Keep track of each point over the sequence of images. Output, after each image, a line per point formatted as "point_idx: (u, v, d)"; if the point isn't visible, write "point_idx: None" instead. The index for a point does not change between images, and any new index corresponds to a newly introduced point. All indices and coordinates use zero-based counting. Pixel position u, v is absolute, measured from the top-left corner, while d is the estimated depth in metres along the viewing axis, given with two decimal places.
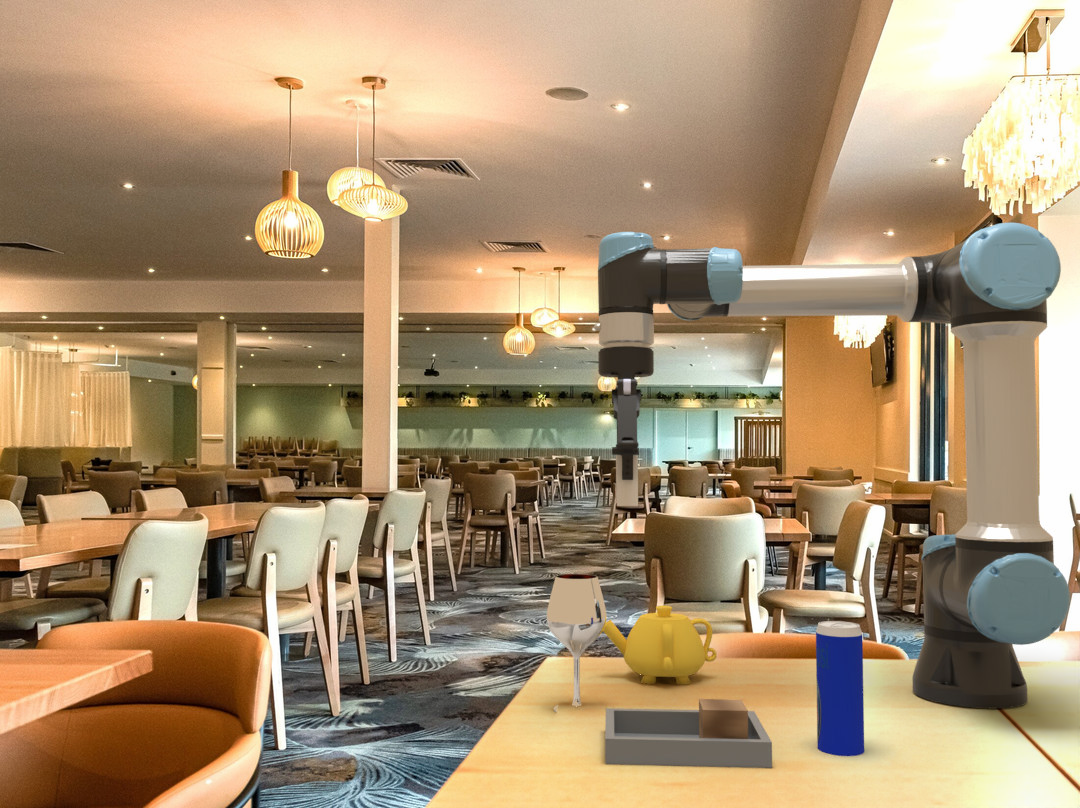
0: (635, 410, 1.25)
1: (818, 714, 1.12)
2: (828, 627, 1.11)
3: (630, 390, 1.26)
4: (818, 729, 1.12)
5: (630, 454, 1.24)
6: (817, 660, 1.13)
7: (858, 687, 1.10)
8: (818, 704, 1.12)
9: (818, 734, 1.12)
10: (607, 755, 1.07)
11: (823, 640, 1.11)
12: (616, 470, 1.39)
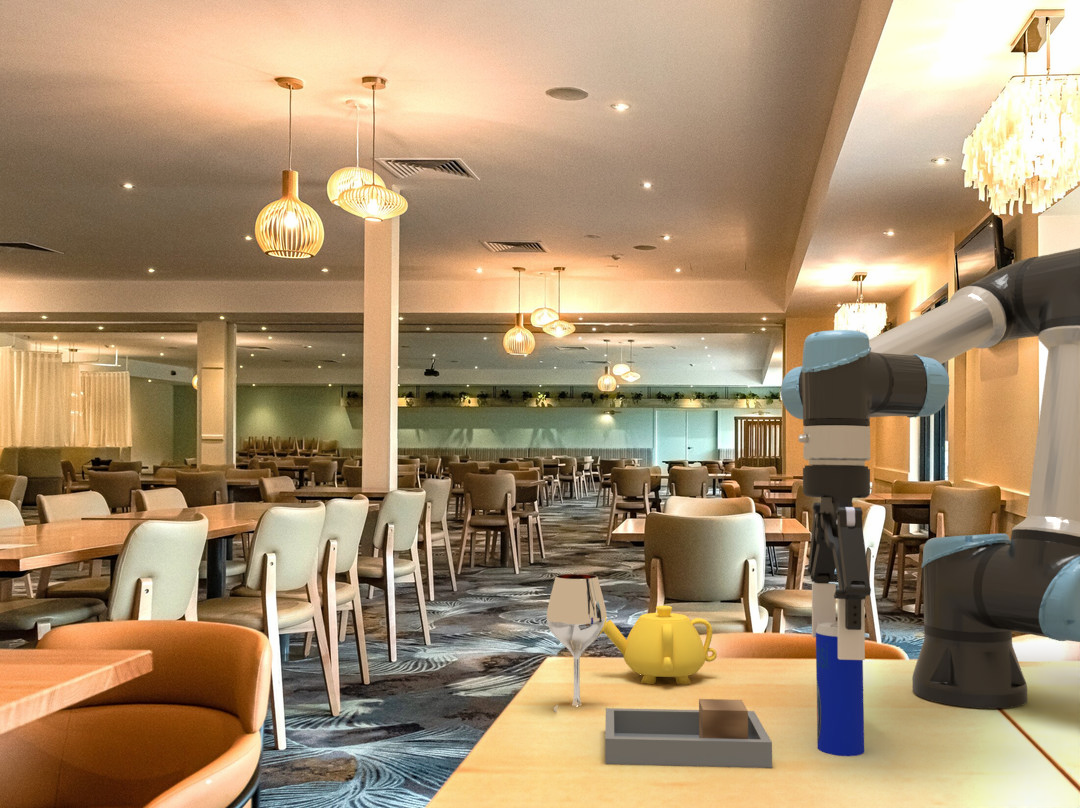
0: (863, 546, 1.05)
1: (818, 714, 1.12)
2: (828, 627, 1.11)
3: (855, 521, 1.07)
4: (818, 729, 1.12)
5: (858, 599, 1.04)
6: (817, 660, 1.13)
7: (858, 687, 1.10)
8: (818, 704, 1.12)
9: (818, 734, 1.12)
10: (607, 755, 1.07)
11: (823, 640, 1.11)
12: (813, 601, 1.19)
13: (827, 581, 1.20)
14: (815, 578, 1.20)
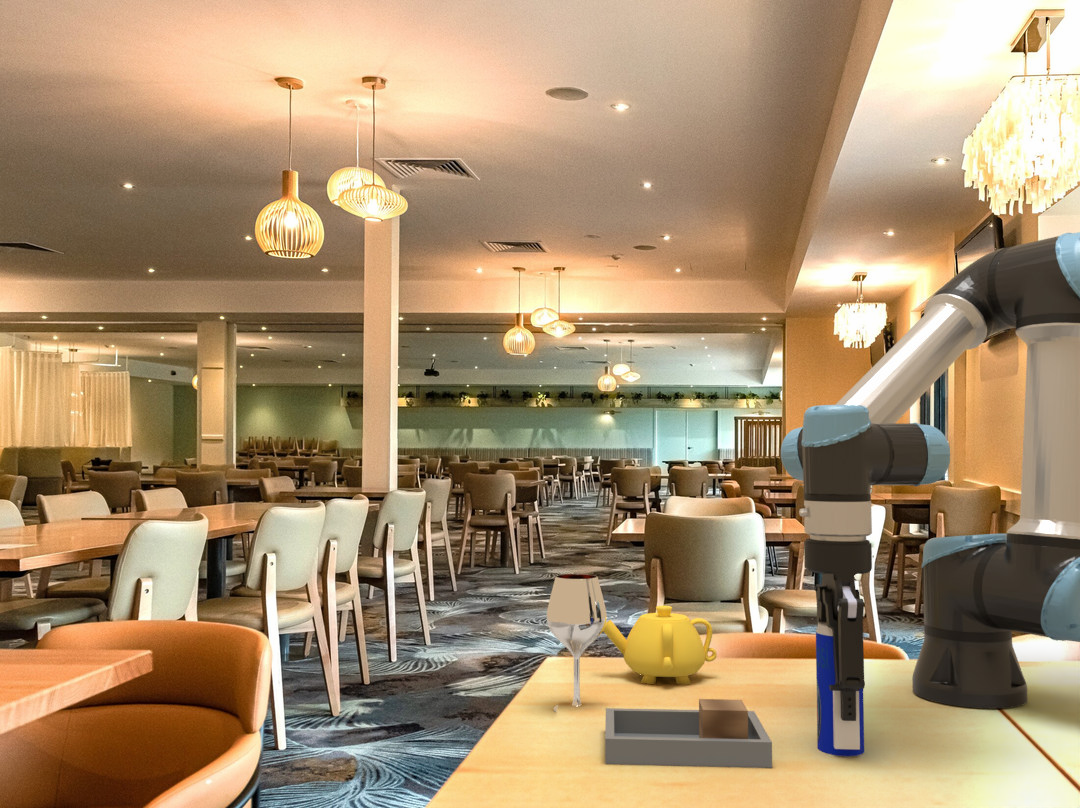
0: (861, 641, 1.07)
1: (818, 714, 1.12)
2: (828, 627, 1.11)
3: (856, 615, 1.07)
4: (818, 729, 1.12)
5: (853, 692, 1.08)
6: (817, 660, 1.13)
7: None
8: (818, 704, 1.12)
9: (818, 734, 1.12)
10: (607, 755, 1.07)
11: (823, 640, 1.11)
12: None
13: None
14: None
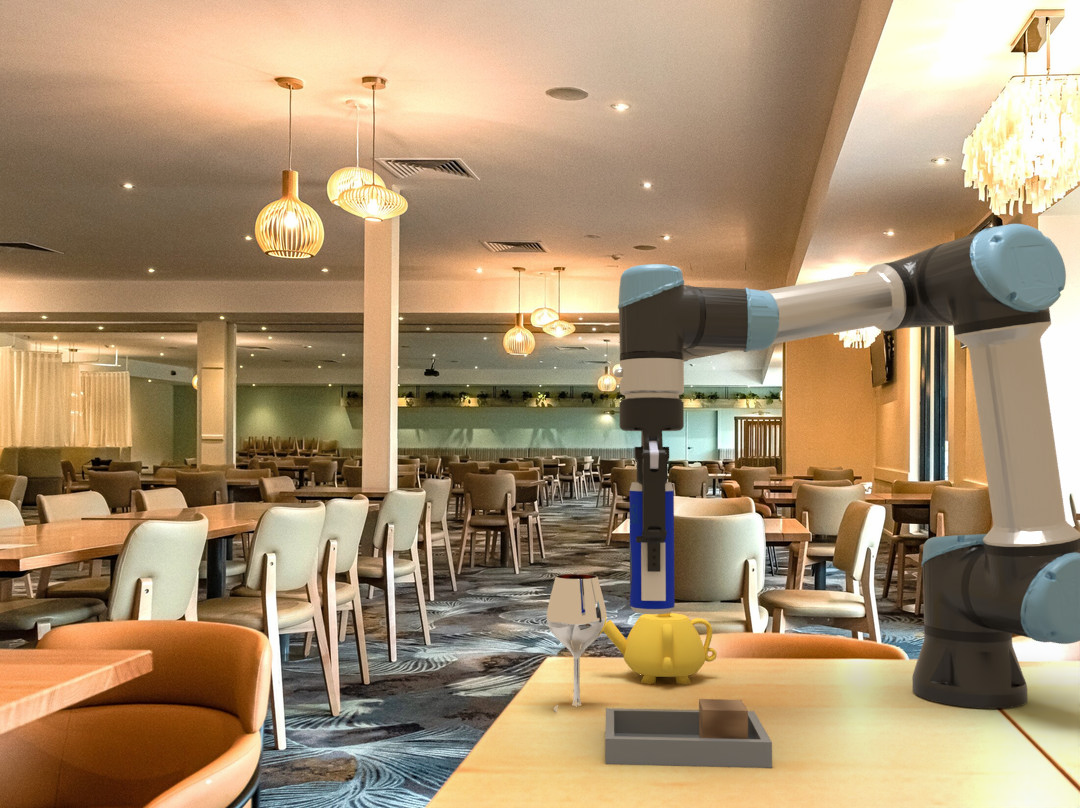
0: (663, 491, 1.08)
1: (630, 570, 1.14)
2: (638, 483, 1.13)
3: (658, 465, 1.08)
4: (630, 585, 1.14)
5: (657, 543, 1.09)
6: None
7: (667, 541, 1.12)
8: (630, 560, 1.14)
9: (630, 590, 1.14)
10: (607, 755, 1.07)
11: (634, 496, 1.13)
12: None
13: None
14: None
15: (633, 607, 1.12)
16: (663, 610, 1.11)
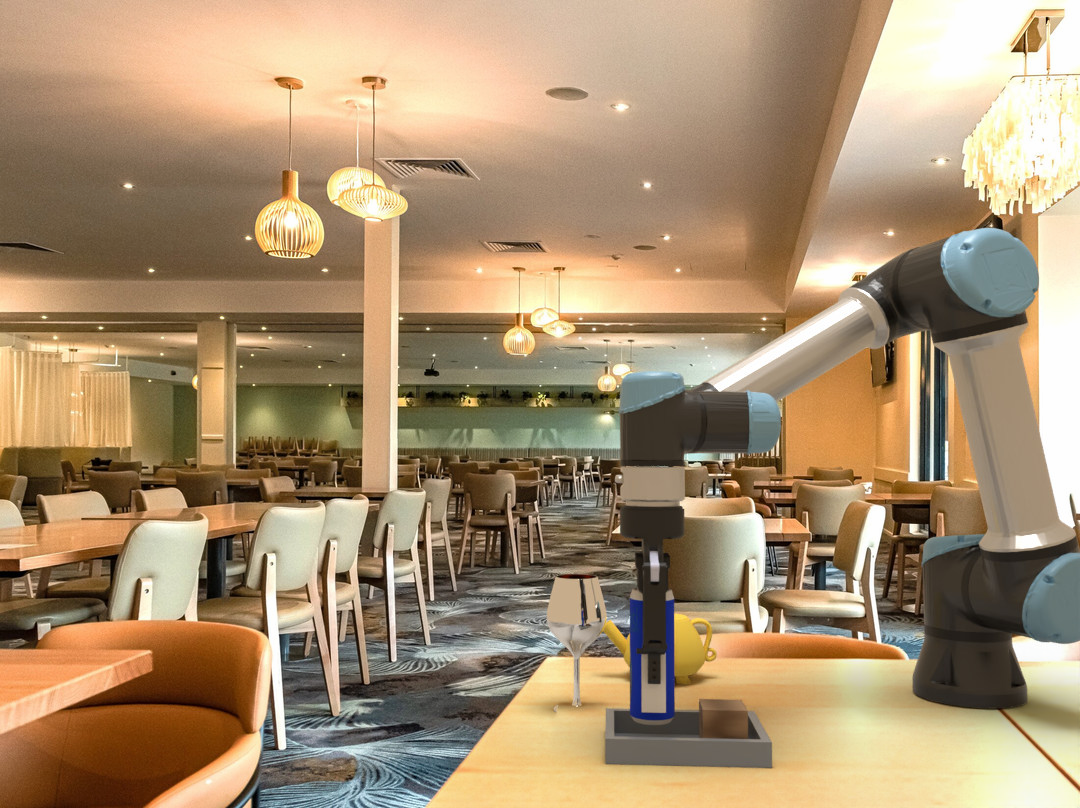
0: (664, 604, 1.07)
1: (630, 678, 1.13)
2: (639, 592, 1.12)
3: (658, 578, 1.07)
4: (630, 693, 1.13)
5: (657, 655, 1.09)
6: (630, 625, 1.13)
7: (667, 651, 1.11)
8: (630, 668, 1.13)
9: (630, 698, 1.13)
10: (607, 755, 1.07)
11: (634, 604, 1.12)
12: None
13: None
14: None
15: (633, 717, 1.12)
16: (663, 721, 1.11)
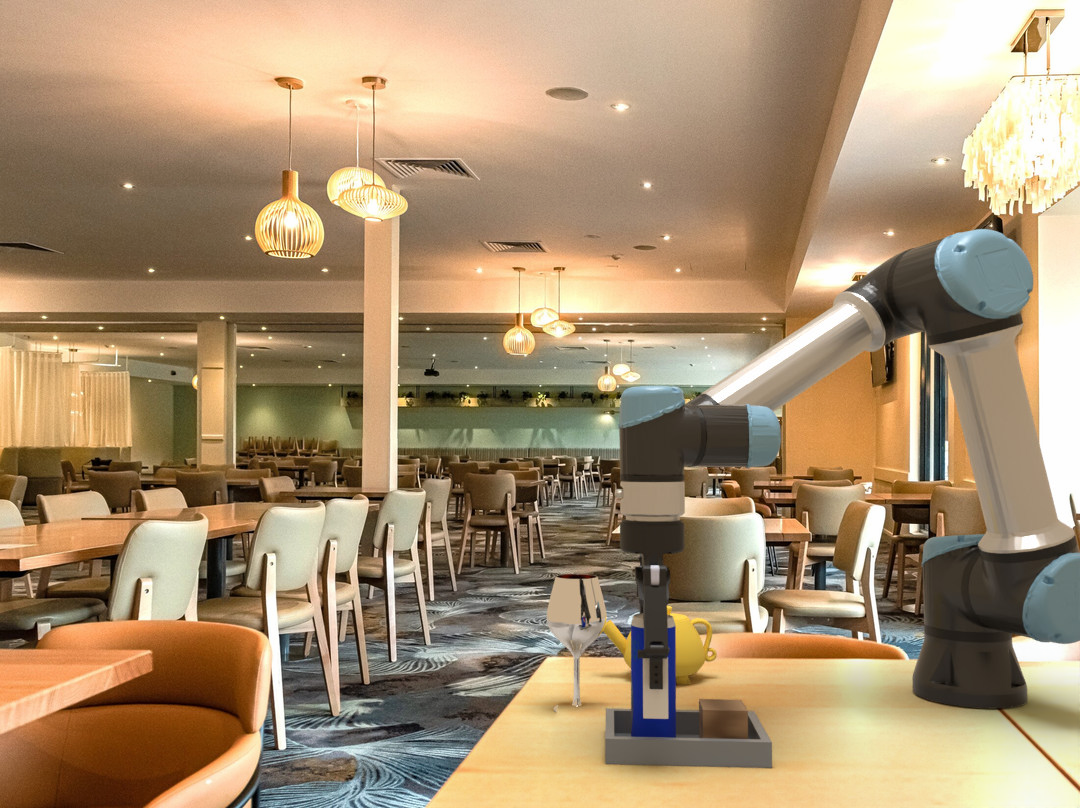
0: (665, 606, 1.06)
1: (631, 705, 1.13)
2: (640, 619, 1.12)
3: (659, 580, 1.07)
4: (631, 720, 1.13)
5: (659, 659, 1.05)
6: (631, 652, 1.13)
7: (668, 678, 1.11)
8: (631, 695, 1.13)
9: (631, 725, 1.13)
10: (607, 755, 1.07)
11: (635, 631, 1.12)
12: None
13: None
14: None
15: None
16: None
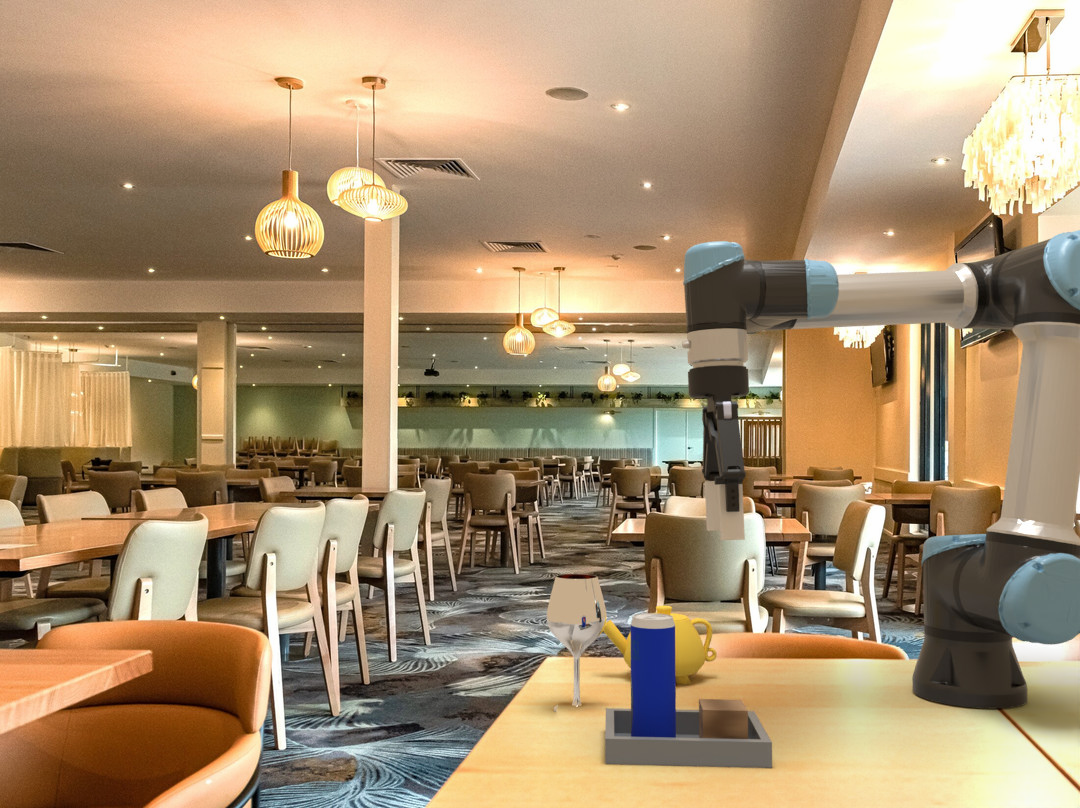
0: (738, 436, 1.15)
1: (631, 706, 1.13)
2: (639, 619, 1.12)
3: (731, 414, 1.16)
4: (631, 720, 1.13)
5: (735, 484, 1.14)
6: (631, 652, 1.13)
7: (668, 678, 1.11)
8: (631, 696, 1.13)
9: (631, 725, 1.13)
10: (607, 755, 1.07)
11: (635, 632, 1.12)
12: (706, 497, 1.29)
13: None
14: (707, 476, 1.30)
15: None
16: None
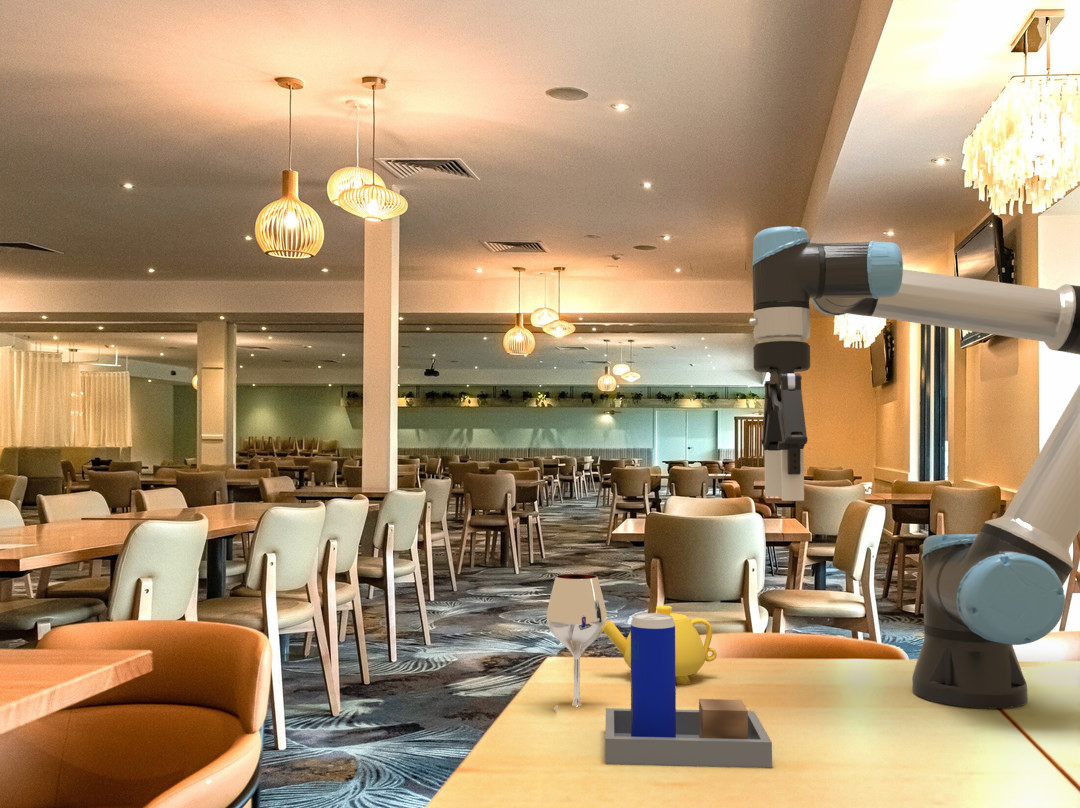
0: (801, 404, 1.24)
1: (631, 706, 1.13)
2: (640, 619, 1.12)
3: (795, 385, 1.26)
4: (631, 720, 1.13)
5: (797, 448, 1.24)
6: (631, 652, 1.13)
7: (668, 678, 1.11)
8: (631, 696, 1.13)
9: (631, 725, 1.13)
10: (607, 755, 1.07)
11: (635, 631, 1.12)
12: (765, 465, 1.38)
13: (777, 449, 1.39)
14: (767, 446, 1.39)
15: None
16: None
